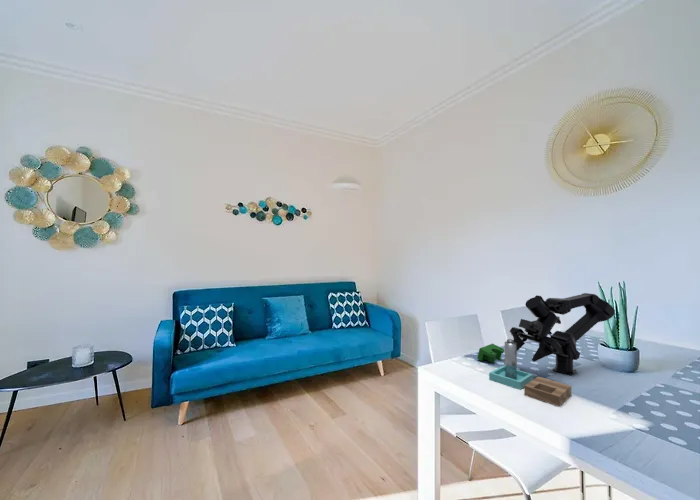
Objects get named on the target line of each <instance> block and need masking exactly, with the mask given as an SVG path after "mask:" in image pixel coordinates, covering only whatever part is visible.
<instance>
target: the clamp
mask: <svg viewBox="0 0 700 500" xmlns="http://www.w3.org/2000/svg"><path fill="white" fill-rule="evenodd" d="M502 354H503V355H504V354H505V348H502V347H500V346H498V345H496V344H494V343H490V344H488V345H485V346H482V347H479V349H478V355H477V360H479V361H481V362H484V361H488V362H490V363H493V364H495V361H496V360H497V361H499V360H500V361H501V357H502Z"/></svg>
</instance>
